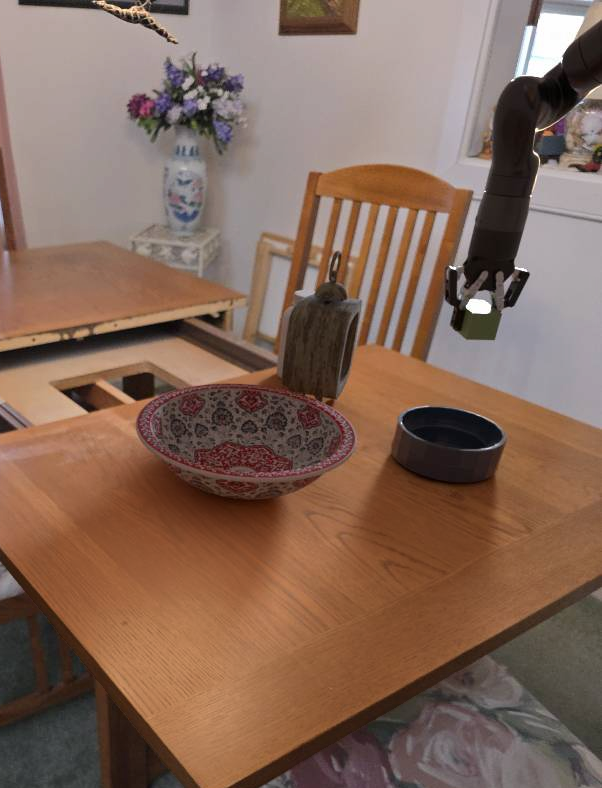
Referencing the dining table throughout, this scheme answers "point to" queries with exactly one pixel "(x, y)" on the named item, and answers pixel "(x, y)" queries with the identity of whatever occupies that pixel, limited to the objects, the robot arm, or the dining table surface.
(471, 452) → the bowl
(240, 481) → the ceramic bowl
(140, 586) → the dining table surface
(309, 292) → the pill bottle
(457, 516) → the dining table surface
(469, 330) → the block
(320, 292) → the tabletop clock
